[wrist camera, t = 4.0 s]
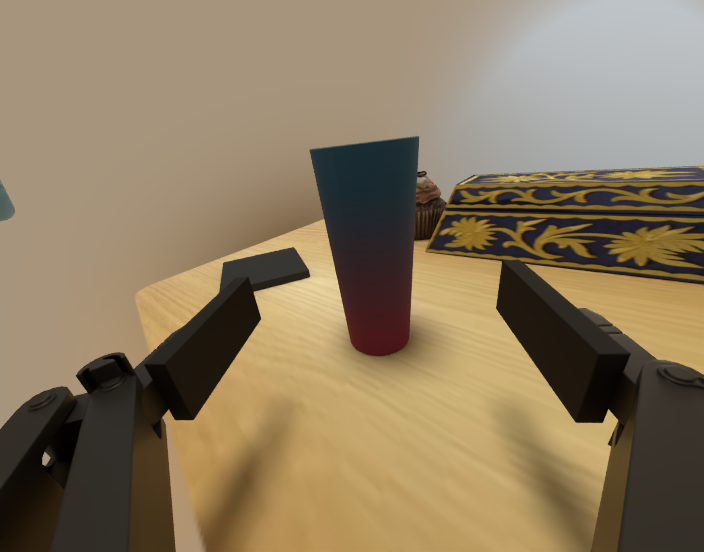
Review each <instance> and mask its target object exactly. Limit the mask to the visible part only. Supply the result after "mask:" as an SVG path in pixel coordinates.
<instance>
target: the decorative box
mask: <svg viewBox="0 0 704 552" xmlns="http://www.w3.org/2000/svg"><path fill="white" fill-rule="evenodd" d="M445 208H446V209H444V211H443V214H442V216H441V218H440V220H439V222H438V224H437V227H436V229H435V231H434V233H433V235H432V237H431V240H430V242H429V244H428V246H427V248H426V250H425V252H432V253H441V254H449V255H458V256H467V257H475V258H484V259H493V260H502V261H503V260H520V261H522V262H523V263H528V264H537V265H545V266H554V267H563V268H572V269H580V270H589V271H598V272H607V273H615V274H624V275H633V276H641V277H650V278H659V279H668V280H676V281H685V282H694V283H703V284H704V166H690V167H689V166H688V167H664V168H639V169H614V170H589V171H564V172H541V173H540V172H539V173H513V174H490V175H489V174H488V175H473V176H471V177H469V178H468V179H466V180H464V181H462V182H460V183H458V184H457V185H455V188H454V190H453V192H452V194H451V196H450V198H449V201H448V203H447V205H446V207H445Z"/></svg>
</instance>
